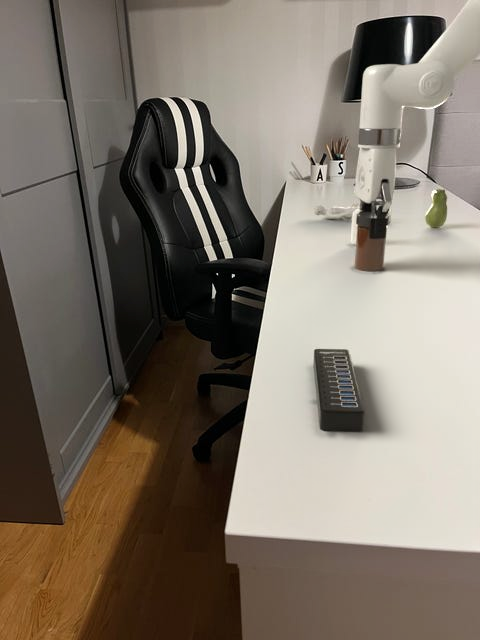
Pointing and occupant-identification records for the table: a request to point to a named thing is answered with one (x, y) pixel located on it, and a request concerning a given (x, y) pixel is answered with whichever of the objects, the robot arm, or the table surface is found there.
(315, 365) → the multiport hub
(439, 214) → the pear
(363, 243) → the jar
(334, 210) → the male figure
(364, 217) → the lid
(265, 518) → the table surface
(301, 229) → the table surface
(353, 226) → the eye dropper bottle
